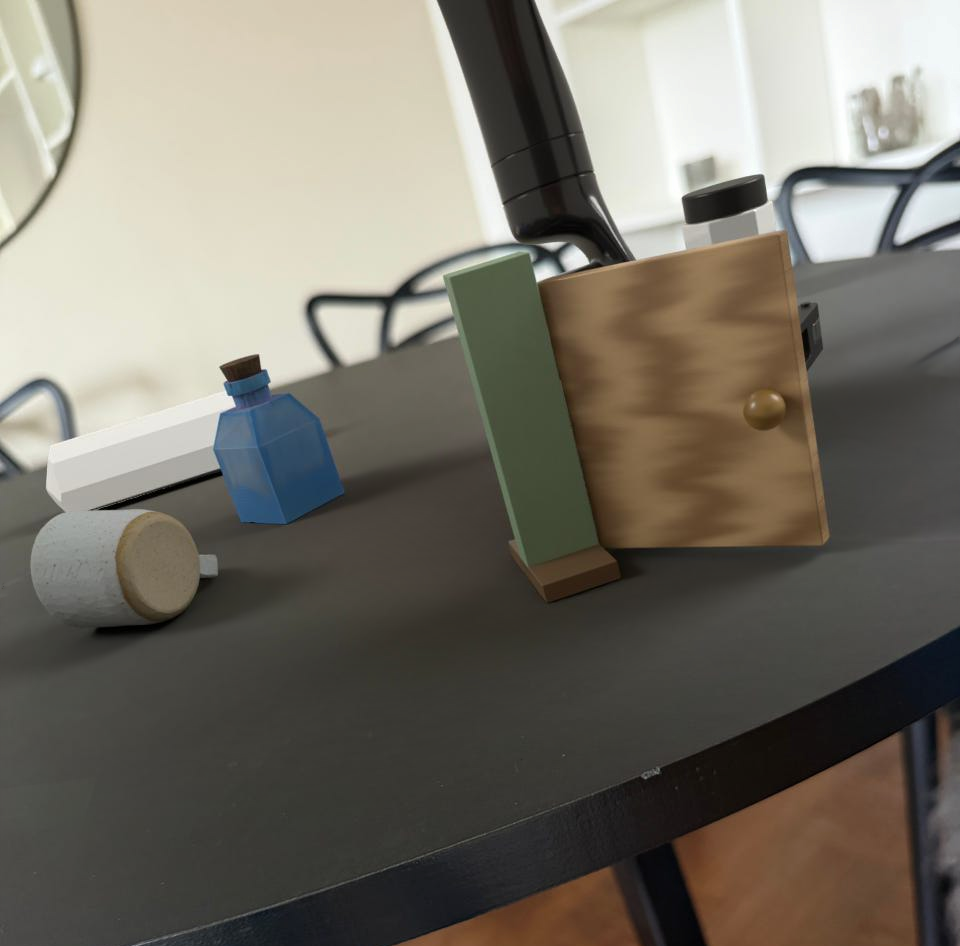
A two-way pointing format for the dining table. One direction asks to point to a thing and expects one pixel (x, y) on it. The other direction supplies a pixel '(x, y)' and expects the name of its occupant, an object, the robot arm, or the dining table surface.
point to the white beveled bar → (136, 455)
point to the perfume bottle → (271, 449)
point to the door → (691, 397)
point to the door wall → (528, 425)
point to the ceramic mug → (116, 567)
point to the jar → (727, 212)
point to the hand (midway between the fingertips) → (785, 383)
